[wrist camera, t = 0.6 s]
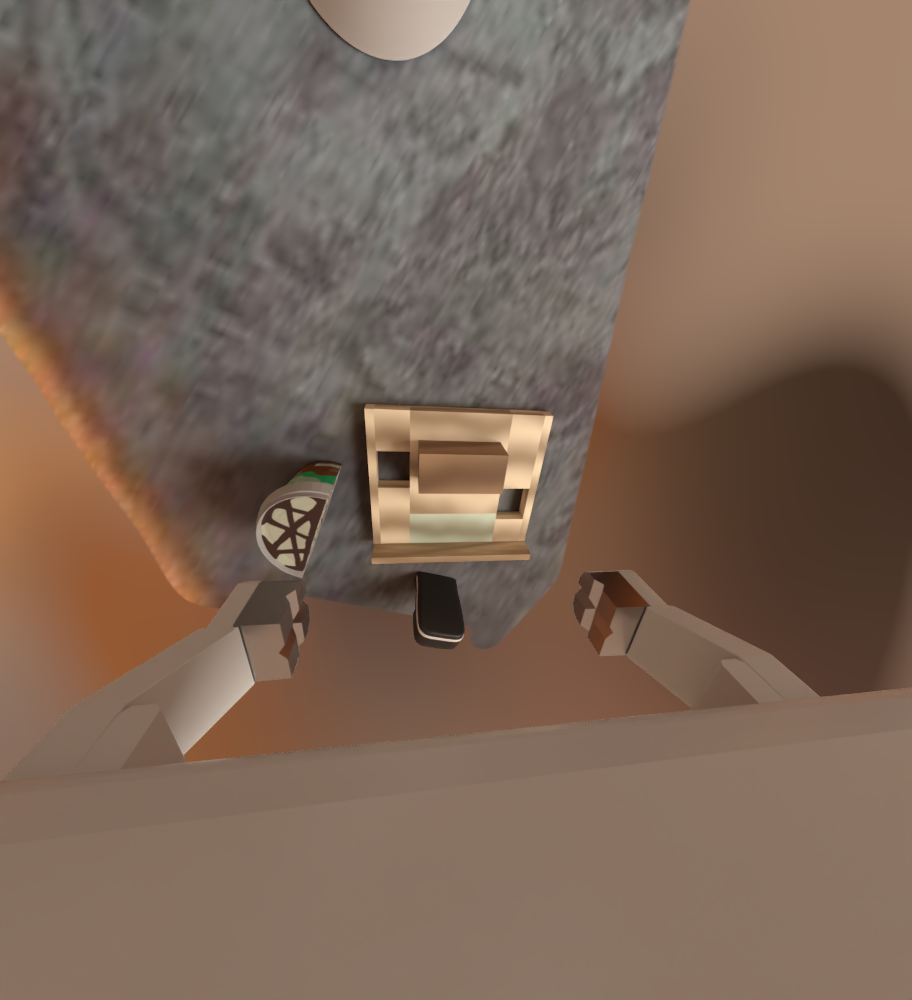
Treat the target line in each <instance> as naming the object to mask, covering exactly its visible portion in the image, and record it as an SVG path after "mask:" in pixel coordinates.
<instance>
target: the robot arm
mask: <svg viewBox="0 0 912 1000" xmlns="http://www.w3.org/2000/svg"><path fill="white" fill-rule="evenodd" d="M310 2H311V3H312V5H313V6H314V8H315V9H316V10H317V12H318V13H319V14H320V15H321V17H322V18H323V19H324V20H325V21H326V23H327V24H328V25H329V26H330V27H331V28H332V29H333V30H334V31H335V32H336V33H337V34H338V35H339V36H340V37H342V38H343V39H344V40H345V41H347V42H348V43H349V44H351V45H352V46H354V47H355V48H357V49H359V50H360V51H362V52H364V53H366V54H368V55H371V56H374V57H376V58H380V59H384V60H394V61H400V60H408V59H413V58H416V57H419V56H421V55H423V54H425V53H427V52H429V51H430V50H432V49H433V48H435V47H436V46H437V45H439V44H440V43H441V42H442V41H443V40H444V39H445V38H446V37H447V36H448V35H449V34H450V33H451V31H452V30H453V29H454V28H455V26H456V25H457V23H458V22H459V20H460V19H461V17H462V16H463V14H464V12H465V10H466V8H467V6H468V4H469V2H470V0H310ZM579 584H580V586H581V589H580V590H579V591H578V592H577V593H576V594H575V598H574V602H573V606H574V613H575V616H576V619H577V620H578V622H579V624H580V625H581V626H582V627H584V628H585V629H587V630H588V631H589V632H588V639H589V640H590V642H591V643H592V645H593V646H594V648H595V650H596V652H597V653H598V655H599V656H608V655H627V657H628V658H630V659H631V660H632V661H633V662H634V663H636V664H637V665H638V666H639V667H641V668H642V669H643V670H644V671H646V672H647V673H648V674H649V675H651V676H652V677H653V678H655V679H656V680H657V681H658V682H659V683H661V684H662V685H663V686H664V687H666V688H667V689H668V690H669V691H671V692H672V693H673V694H674V695H676V696H677V697H678V698H679V699H681V700H682V701H683V702H684V703H686V704H687V705H688V706H689V707H691V708H692V710H691V711H681V712H671V713H662V714H652V715H643V716H633V717H624V718H614V719H605V720H595V721H585V722H576V723H567V724H557V725H549V726H548V725H547V726H538V727H529V728H519V729H508V730H498V731H489V732H479V733H469V734H460V735H449V736H440V737H430V738H421V739H410V740H402V741H391V742H381V743H372V744H362V745H352V746H342V747H333V748H323V749H314V750H304V751H294V752H284V753H275V754H265V755H255V756H246V757H236V758H226V759H216V760H207V761H197V762H187V761H186V759H185V757H184V754H185V753H186V752H187V751H188V750H189V749H190V748H191V747H192V746H193V745H194V744H195V743H196V742H197V741H198V740H199V739H200V738H201V737H202V736H203V735H204V734H205V733H206V732H207V731H208V730H209V729H210V728H211V727H212V726H213V725H214V724H215V723H216V722H217V721H218V720H219V719H220V718H221V717H222V716H223V715H224V714H225V713H226V712H227V711H228V710H229V709H230V708H231V707H232V706H233V705H234V704H235V703H236V702H237V701H238V700H239V699H240V698H241V697H242V696H243V695H244V694H245V693H246V692H247V691H248V690H249V689H250V688H251V687H252V686H253V685H254V684H255V683H254V682H255V681H265V680H275V679H286V678H292V675H293V673H294V670H295V667H296V664H297V661H298V658H299V655H300V654H299V648H298V646H299V645H300V644H301V643H302V642H303V641H305V638H306V635H307V632H308V626H309V607H308V604H307V603H305V602H304V601H303V599H304V596H305V594H306V589H305V584H304V582H303V581H302V580H296V581H243V582H241V583H239V584H237V586H236V587H235V588H234V590H233V591H232V593H231V594H230V596H229V597H228V598H227V600H226V601H225V603H224V604H223V605H222V607H221V608H220V610H219V611H218V613H217V614H216V615H215V617H214V618H213V620H212V621H211V622H210V624H209V625H208V627H207V628H204V629H198V630H197V631H195V632H193V633H192V634H190V635H188V636H187V637H185V638H184V639H182V640H180V641H179V642H177V643H175V644H174V645H172V646H171V647H169V648H167V649H166V650H164V651H162V652H160V653H159V654H157V655H156V656H154V657H152V658H151V659H149V660H147V661H146V662H144V663H142V664H141V665H139V666H137V667H136V668H134V669H133V670H131V671H129V672H128V673H126V674H124V675H123V676H121V677H119V678H118V679H116V680H114V681H113V682H111V683H109V684H108V685H106V686H105V687H103V688H101V689H100V690H98V691H97V692H95V693H93V694H91V695H90V696H88V697H87V698H85V699H84V700H82V701H80V702H78V703H77V704H75V705H73V706H72V707H70V708H69V709H68V710H67V711H66V712H65V713H64V714H63V715H62V716H61V717H60V718H59V719H58V720H57V722H56V723H55V724H54V725H53V726H52V727H51V728H50V729H49V730H48V731H47V732H46V734H44V735H43V737H42V738H41V739H40V740H39V741H38V742H37V743H36V744H35V745H34V746H33V748H31V749H30V751H29V752H28V753H27V754H26V755H25V756H24V757H23V758H22V759H21V760H20V761H19V762H18V763H17V765H16V766H15V767H14V768H13V769H12V770H11V771H10V772H9V773H8V774H7V775H6V776H5V778H4V779H3V780H2V781H1V782H0V1000H912V688H904V689H895V690H885V691H876V692H866V693H856V694H847V695H837V696H827V697H820V696H818V695H817V694H816V693H815V692H814V691H813V690H812V689H810V688H809V687H808V686H807V685H806V684H805V683H804V682H802V681H801V680H800V679H799V678H798V677H797V676H795V675H794V674H793V673H792V672H791V671H790V670H788V669H787V668H786V667H785V666H784V665H783V664H781V663H780V662H779V661H778V660H777V659H776V658H774V657H773V656H772V655H771V654H769V653H767V652H765V651H763V650H761V649H759V648H757V647H755V646H753V645H751V644H749V643H746V642H745V641H743V640H741V639H739V638H737V637H735V636H732V635H731V634H729V633H726V632H725V631H723V630H721V629H718V628H717V627H714V626H713V625H711V624H709V623H706V622H704V621H702V620H700V619H698V618H696V617H694V616H692V615H690V614H688V613H686V612H684V611H682V610H680V609H678V608H676V607H674V606H668V605H667V604H666V603H665V602H664V601H663V600H662V599H661V598H660V597H659V596H658V595H657V594H656V593H655V592H654V591H653V590H652V589H651V588H650V587H649V586H648V585H647V584H646V583H645V582H644V581H643V580H642V579H641V578H640V577H639V576H638V575H637V574H636V573H635V572H633V571H631V570H618V571H604V572H584V573H583V574H582V575H581V577H580V580H579Z"/></svg>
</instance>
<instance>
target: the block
mask: <svg viewBox="0 0 912 1000" xmlns="http://www.w3.org/2000/svg"><path fill="white" fill-rule="evenodd" d="M508 458H509V455H508V453H507V452H506V450H505V449H504V447H503V445H502V444H501V442H470V441H433V440H419V443H418V490H419V494H502V493H503V487H504V482H505V476H506V470H507V464H508Z"/></svg>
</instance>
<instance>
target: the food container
mask: <svg viewBox="0 0 912 1000" xmlns="http://www.w3.org/2000/svg"><path fill="white" fill-rule="evenodd" d="M341 466H342V464H340V463H336V462H328V461H319V462H315V463H312V464H308V465H307V466H305V467H304V468H302V469H301V470H299V471H298V472H297V474H296V475H295V476H294V477H293V478H292V479H291V480H290V482H289V483H288V484H287V485H286V486H283V487H281V488H279V489H277V490H275V491H274V492H273V493H271V494H270V495H269V496H268V497H267V498H266V499H265V500H264V502H263V504H262V505H261V507H260V510H259V513H258V517H257V521H256V537H257V542H258V545H259V547H260V549H261V551H262V553H263V554H264V555H265V557H266V558H267V559H268V560H269V561H270V562H271V563H272V564H273V565H275V566H276V567H278V568H279V569H281V570H282V571H284V572H286V573H289V574H291V575H294V576H297V577H300V578H302V576H303V574H304V572H305V569H306V566H307V563H308V561H309V558H310V555H311V553H312V550H313V547H314V545H315V542H316V539H317V537H318V534H319V531H320V529H321V526H322V523H323V521H324V518H325V515H326V512H327V509H328V506H329V503H330V499H331V496H332V493H333V490H334V487H335V484H336V481H337V478H338V475H339V472H340V469H341Z"/></svg>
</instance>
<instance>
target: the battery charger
mask: <svg viewBox="0 0 912 1000" xmlns="http://www.w3.org/2000/svg"><path fill="white" fill-rule="evenodd" d="M415 588H416V604H415V611H414V613H413V630H414V637H415V640H416V642H417V643H418V644H420V645H422V646H427V647H433V648H440V649H453V648H455V647H456V646H457V645H458V643H459V641H460V640H461V639H462V638H463V636H464V621H463V615H462V609H461V605H460V600H459V596H458V591H457V584H456V580H455V579H451V578H447V577H443V576H438V575H433V574H428V573H421V572H420V573H418V574H417V576H416V580H415Z"/></svg>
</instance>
